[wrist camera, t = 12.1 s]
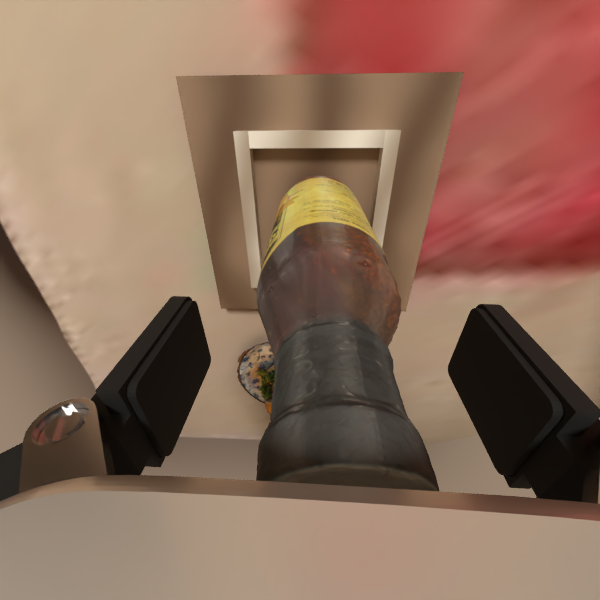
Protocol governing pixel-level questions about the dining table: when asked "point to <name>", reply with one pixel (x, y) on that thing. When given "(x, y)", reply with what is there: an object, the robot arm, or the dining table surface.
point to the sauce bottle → (333, 349)
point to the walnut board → (314, 159)
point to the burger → (258, 373)
